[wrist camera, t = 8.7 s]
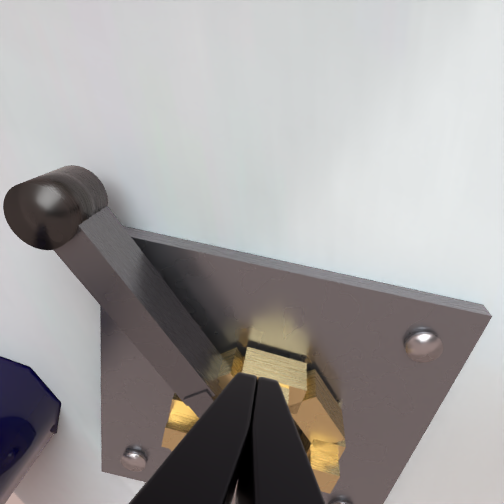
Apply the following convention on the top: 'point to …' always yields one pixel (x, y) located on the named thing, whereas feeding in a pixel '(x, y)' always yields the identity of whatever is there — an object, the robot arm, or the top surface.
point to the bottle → (23, 422)
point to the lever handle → (163, 314)
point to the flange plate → (296, 355)
